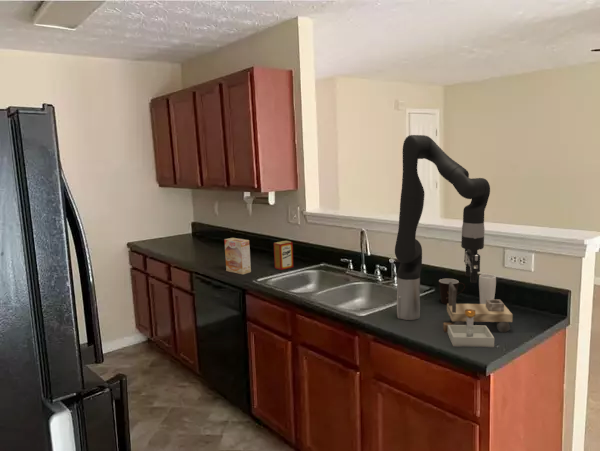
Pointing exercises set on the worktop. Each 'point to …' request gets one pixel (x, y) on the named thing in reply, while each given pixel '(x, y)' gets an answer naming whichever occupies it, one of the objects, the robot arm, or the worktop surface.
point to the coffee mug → (445, 289)
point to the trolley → (479, 311)
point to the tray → (479, 339)
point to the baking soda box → (283, 255)
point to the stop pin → (469, 322)
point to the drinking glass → (487, 287)
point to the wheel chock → (446, 326)
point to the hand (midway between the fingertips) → (471, 279)
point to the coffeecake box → (237, 255)
